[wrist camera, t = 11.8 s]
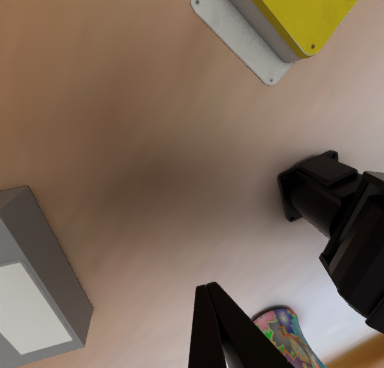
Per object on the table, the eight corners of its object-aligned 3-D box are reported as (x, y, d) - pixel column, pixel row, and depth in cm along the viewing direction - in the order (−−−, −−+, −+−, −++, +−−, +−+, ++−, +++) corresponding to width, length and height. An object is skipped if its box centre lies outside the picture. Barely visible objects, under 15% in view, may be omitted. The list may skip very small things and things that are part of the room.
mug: (292, 330, 36) (345, 416, 27) (242, 346, 35) (279, 443, 25) (300, 283, 31) (370, 371, 21) (241, 301, 29) (288, 402, 20)
